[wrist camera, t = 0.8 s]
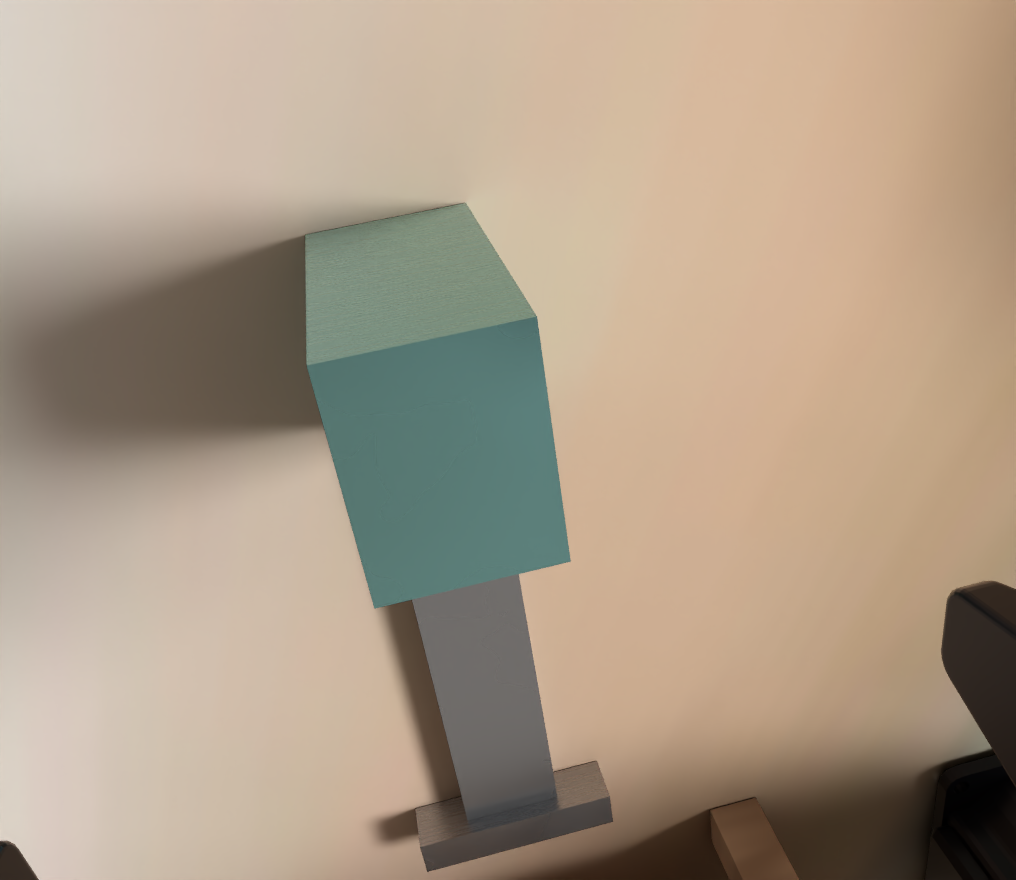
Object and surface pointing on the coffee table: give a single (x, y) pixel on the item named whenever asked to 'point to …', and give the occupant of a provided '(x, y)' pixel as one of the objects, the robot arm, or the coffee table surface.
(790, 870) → the low stand
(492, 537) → the teal block
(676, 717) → the coffee table surface
